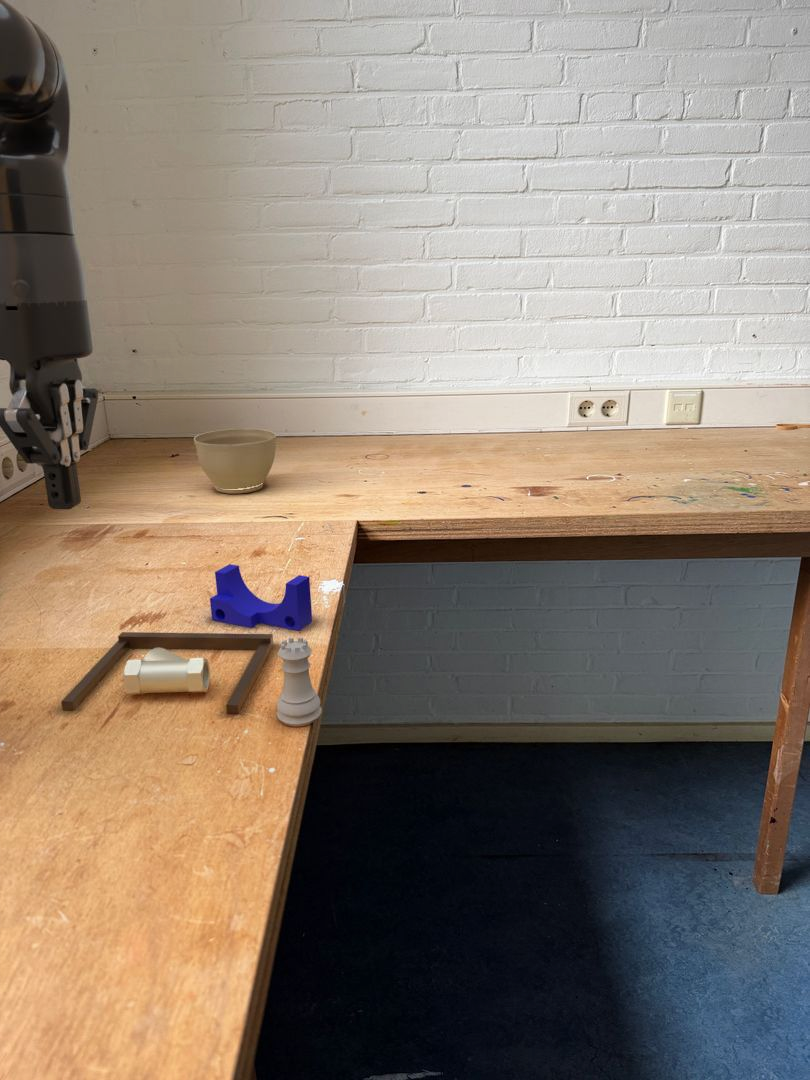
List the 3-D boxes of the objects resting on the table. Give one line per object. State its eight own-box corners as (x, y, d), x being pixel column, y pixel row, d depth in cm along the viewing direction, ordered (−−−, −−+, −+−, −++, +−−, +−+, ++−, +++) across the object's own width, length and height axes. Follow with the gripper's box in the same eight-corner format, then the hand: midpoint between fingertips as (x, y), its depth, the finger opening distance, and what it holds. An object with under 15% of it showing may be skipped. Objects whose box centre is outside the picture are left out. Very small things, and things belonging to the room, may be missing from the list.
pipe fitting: (145, 674, 88) (125, 701, 82) (141, 641, 87) (121, 666, 81) (217, 672, 88) (204, 699, 82) (214, 639, 87) (200, 664, 81)
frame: (62, 710, 81) (60, 696, 80) (123, 643, 95) (121, 631, 95) (238, 713, 79) (237, 700, 79) (273, 645, 94) (272, 633, 93)
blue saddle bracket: (212, 620, 101) (207, 576, 99) (233, 607, 105) (229, 564, 103) (292, 635, 96) (289, 589, 94) (312, 621, 100) (309, 576, 98)
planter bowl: (219, 504, 152) (213, 447, 148) (187, 487, 164) (181, 435, 161) (294, 489, 160) (290, 436, 157) (258, 475, 173) (254, 425, 169)
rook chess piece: (331, 712, 79) (327, 639, 77) (301, 733, 76) (296, 657, 73) (297, 700, 82) (292, 628, 79) (267, 719, 78) (260, 646, 76)
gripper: (33, 294, 70) (60, 487, 75) (-63, 298, 57) (-22, 529, 63) (116, 294, 69) (138, 488, 75) (38, 298, 57) (71, 531, 62)
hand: (65, 506), depth 69 cm, fingers closed
